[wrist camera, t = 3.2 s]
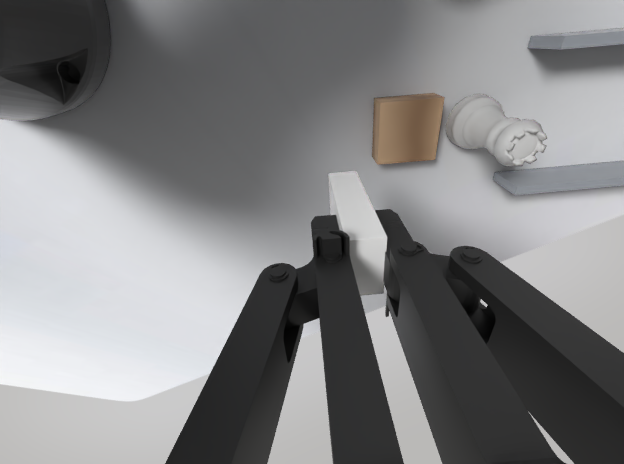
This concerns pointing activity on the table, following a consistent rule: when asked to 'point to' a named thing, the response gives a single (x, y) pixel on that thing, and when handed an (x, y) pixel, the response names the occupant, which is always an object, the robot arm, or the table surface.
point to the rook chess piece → (494, 131)
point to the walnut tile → (406, 128)
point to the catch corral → (573, 174)
